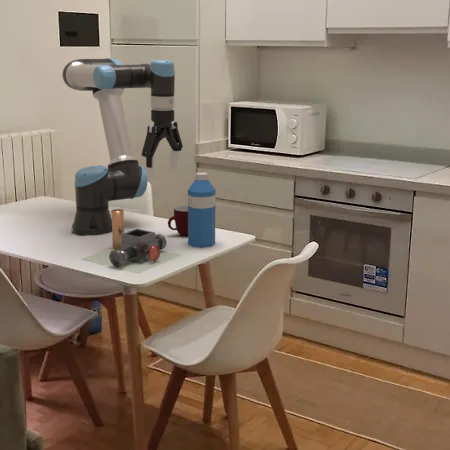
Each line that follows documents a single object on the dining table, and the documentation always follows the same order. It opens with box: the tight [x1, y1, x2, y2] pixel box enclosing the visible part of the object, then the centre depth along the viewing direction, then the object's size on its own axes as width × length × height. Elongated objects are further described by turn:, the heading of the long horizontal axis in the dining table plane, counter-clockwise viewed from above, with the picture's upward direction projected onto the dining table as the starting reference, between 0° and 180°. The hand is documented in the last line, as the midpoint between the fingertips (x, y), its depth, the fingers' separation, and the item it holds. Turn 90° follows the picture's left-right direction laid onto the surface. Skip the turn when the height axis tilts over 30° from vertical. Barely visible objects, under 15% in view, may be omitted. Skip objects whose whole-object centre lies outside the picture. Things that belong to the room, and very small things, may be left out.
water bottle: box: [187, 172, 216, 249], centre depth 234 cm, size 9×9×25 cm
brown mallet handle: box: [111, 208, 125, 250], centre depth 230 cm, size 4×4×13 cm
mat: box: [80, 247, 182, 274], centre depth 222 cm, size 24×22×1 cm
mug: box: [167, 205, 188, 238], centre depth 246 cm, size 10×8×10 cm
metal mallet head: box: [109, 228, 167, 267], centre depth 219 cm, size 11×22×8 cm, turn 147°
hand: (162, 173), depth 228 cm, fingers open, 13 cm apart
